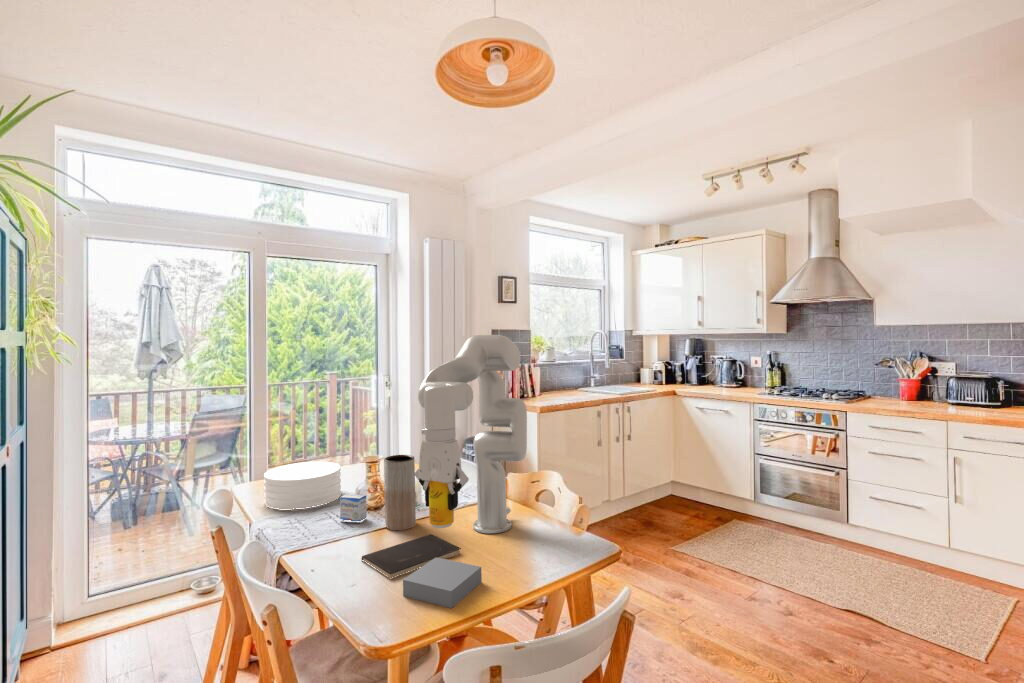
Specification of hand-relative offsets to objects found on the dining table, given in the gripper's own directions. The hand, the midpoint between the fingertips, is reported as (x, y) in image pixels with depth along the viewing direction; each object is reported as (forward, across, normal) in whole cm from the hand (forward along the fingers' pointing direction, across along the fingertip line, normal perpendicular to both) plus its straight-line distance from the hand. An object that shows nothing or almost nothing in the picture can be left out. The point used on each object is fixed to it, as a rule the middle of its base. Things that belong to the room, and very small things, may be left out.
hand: (441, 506), depth 130 cm
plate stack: (+21, -92, +39) cm, 103 cm away
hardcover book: (+22, -19, +12) cm, 31 cm away
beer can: (+5, 0, 0) cm, 5 cm away
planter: (+21, -38, +31) cm, 53 cm away
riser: (+21, 0, 0) cm, 21 cm away
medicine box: (+21, -56, +28) cm, 66 cm away
